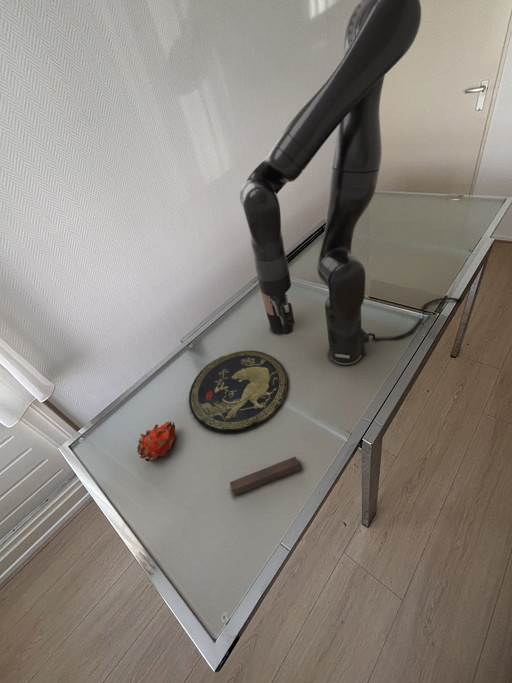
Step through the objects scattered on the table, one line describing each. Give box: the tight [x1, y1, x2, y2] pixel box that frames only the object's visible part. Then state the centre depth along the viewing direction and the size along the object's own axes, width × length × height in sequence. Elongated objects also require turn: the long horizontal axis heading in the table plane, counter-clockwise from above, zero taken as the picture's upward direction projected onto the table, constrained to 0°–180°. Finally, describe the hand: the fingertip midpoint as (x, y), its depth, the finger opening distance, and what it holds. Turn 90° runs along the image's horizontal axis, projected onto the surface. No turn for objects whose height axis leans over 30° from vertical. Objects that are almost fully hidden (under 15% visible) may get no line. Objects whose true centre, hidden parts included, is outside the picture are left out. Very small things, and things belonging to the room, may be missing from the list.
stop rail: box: [229, 456, 301, 496], centre depth 73 cm, size 16×2×3 cm, turn 106°
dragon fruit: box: [136, 421, 177, 462], centre depth 84 cm, size 8×8×12 cm
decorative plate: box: [188, 349, 288, 434], centre depth 95 cm, size 30×2×30 cm
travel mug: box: [260, 291, 287, 335], centre depth 105 cm, size 8×8×20 cm
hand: (283, 323), depth 85 cm, fingers open, 8 cm apart
